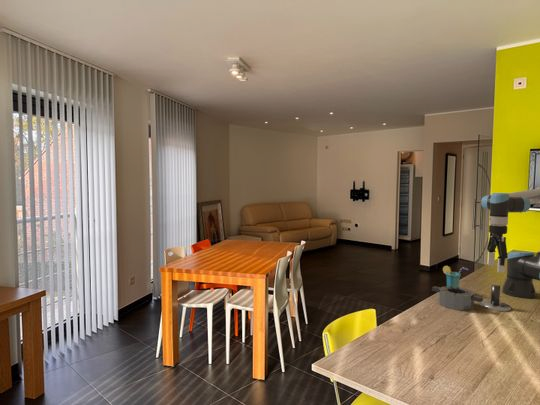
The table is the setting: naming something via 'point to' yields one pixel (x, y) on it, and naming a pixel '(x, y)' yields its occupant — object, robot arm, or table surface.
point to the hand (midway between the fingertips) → (495, 268)
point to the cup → (452, 276)
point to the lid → (495, 301)
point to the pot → (456, 297)
